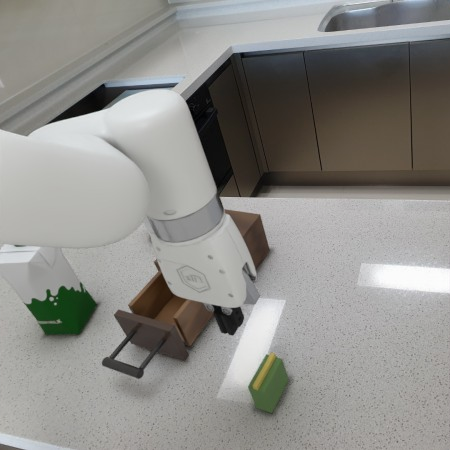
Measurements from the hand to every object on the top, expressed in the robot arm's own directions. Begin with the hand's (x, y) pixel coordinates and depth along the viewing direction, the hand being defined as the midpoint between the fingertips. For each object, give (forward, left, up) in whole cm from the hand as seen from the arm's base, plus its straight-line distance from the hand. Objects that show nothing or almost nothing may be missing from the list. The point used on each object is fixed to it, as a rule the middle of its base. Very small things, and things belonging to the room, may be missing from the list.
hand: (233, 325), depth 59 cm
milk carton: (-13, +39, -14) cm, 43 cm away
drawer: (-3, +19, -13) cm, 23 cm away
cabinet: (+12, +25, -14) cm, 31 cm away
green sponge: (+1, -2, -14) cm, 14 cm away
